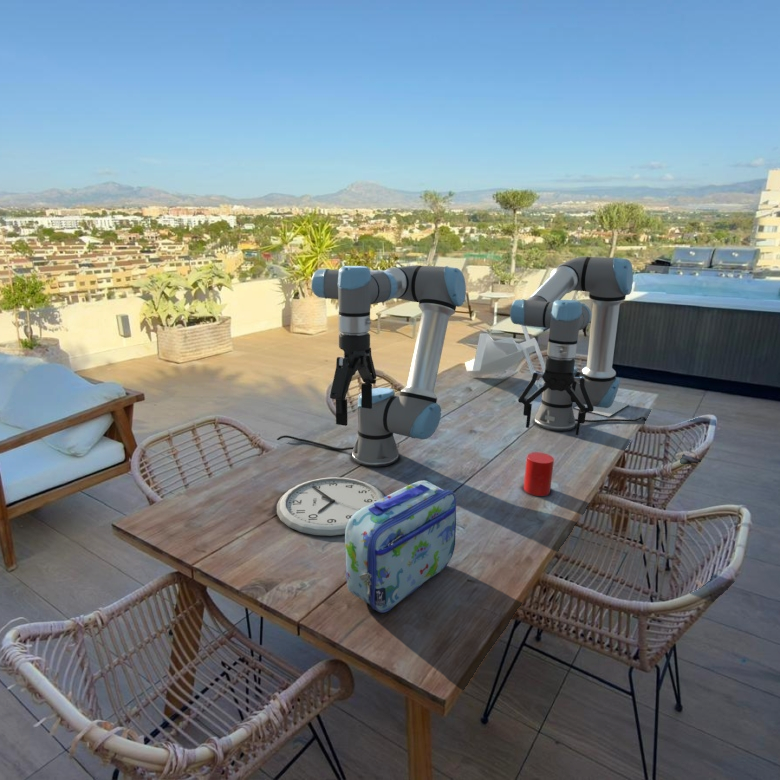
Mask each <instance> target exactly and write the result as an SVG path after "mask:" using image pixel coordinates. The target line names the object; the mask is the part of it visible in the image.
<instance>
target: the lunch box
mask: <svg viewBox="0 0 780 780" xmlns="http://www.w3.org/2000/svg"><path fill="white" fill-rule="evenodd" d="M456 531H457V499H456V495H455V493H454V492H453V490H450V489H442V488H440V487H439V486H437V485H435V484H433V483H432V482H430V481H428V480H418V481H416V482H413V483H410V484H409V485H406V486H405V487H402V488H400V489H398V490H396V491H394V492H392V493H390V494H388V495H385V497H384V498H382V499H380V500H378V501H376V502H374V503H372V504H370V505H368V506H366V507H364V508H362V509H360V510H358V511H357V512H355V513H354V514H353V515H352V517H351V518H350V520H349V522H348V524H347V527H346V531H345V534H344V552H345V577H346V578H345V580H346V586H347V589H348V592H349V593H350V594H352V595H354V596H356V597H357V598H359V599H361V600H363V602H365V603H367V604H368V605H370V607H371V608H372V609H373V610H375V611H376V612H378V613H380V614H382V613H383V614H385V613H387V612H389V611H391V609H393V608H394V607H395V606H396V605H397V604H400V602H401V601H402V600H404V599H406V597H409V596H410V595H411V594H412V593H414V592H415V591H416V590H417V589H418V588H420V587H421V586H422V585H423V584H424V583H425V582H427V581H428V580H430V579H432V578H433V577H434V576H436V575H437V574H439V573H441V572H442V571H443V570H445V568H446V567H447V566H448V564H449V563H450V561H451V560H452V557H453V554H454V551H455V548H456V547H455V546H456Z"/></svg>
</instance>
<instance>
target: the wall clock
mask: <svg viewBox="0 0 780 780" xmlns="http://www.w3.org/2000/svg"><path fill="white" fill-rule="evenodd" d="M384 497H386V495H385V494H384V493H383V492H382V491H381V490H380V489H379V488H377V487H376V486H374V485H372V484H371V483H369V482H365V481H362V480H359V479H355V478H349V477H338V476H337V477H335V476H333V477H332V476H331V477H322V478H317V479H312V480H307V481H305V482H302V483H299V484H297V485H295V486H293V487H292V488H290V489H288V490H287V491H286V492H285V493H284V494H283V495H281V496H280V498H279V499H278V502H277V503H276V515H277V517H278V518H279V520H280V521H281V522H282V523H283V524H285V525H286V526H287V527H288V528H290V529H293V530H295V531H297V532H299V533H303V534H308V535H312V536H327V537H328V536H329V537H331V536H332V537H333V536H342V535H345V531H346V527H347V524H348V522H349V520H350V518H351V517H352V515H353V514H354V513H355V512H357V511H358V510H360V509H362V508H364V507H366V506H368V505H370V504H372V503H374V502H376V501H378V500H380V499H382V498H384Z"/></svg>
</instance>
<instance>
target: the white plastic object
mask: <svg viewBox="0 0 780 780" xmlns="http://www.w3.org/2000/svg"><path fill="white" fill-rule="evenodd" d="M520 326H521V329H522V332H523V336H524V338H525V341H522V342H519V343H518V342H516V340H515V339H514V337H513V336H510V337H505V338H501V339H497V340H494V339H493V338H492V337H491V335H490V334H489V333H487V332H486V333H485V332H483V333H482V332H480V333H479V336H478V341H477V346H476V351H475V355H474V358H473V359H471V360H468V361H465V362H464V365H465V370H466V372H467V374H468V375H469V377H471V378H472V377H481V376H490V375H496V376H500V375H502V374H505V373H506V372H507V370H508V369H509V368H511V367H512V366H513V365H515V364H517V363H518V362H520V361H521V360H522V359H523V358H524V357H525V360H526V363H527V367H528V370H529V372H530V376H531V377H532V376H533V373H534V371H535V368H534V365H533V361H532V359H531V356H530V354H533V353H535V352H536V355H537V359H538V362H539V364H540V367H541V370H542V373H543V374H544V372H545V367H546V362H545V360H544V358H543V355H542V351H541V348H540V345H539V343H538V341H537V339H536V338H535V337H532V338H531V337H530V334H529V332H528V328H527V326H522V325H520ZM534 386H535V387H536V388H537V390H538V389H539V388H540V383H539V380H536V382H535V384H534Z"/></svg>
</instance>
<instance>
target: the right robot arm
mask: <svg viewBox="0 0 780 780" xmlns="http://www.w3.org/2000/svg"><path fill="white" fill-rule="evenodd" d="M633 284H634V270H633V264H632V262H631V261H630V260H629V259H627V258H621V257H608V256H607V257H606V256H605V257H602V256H578V257H575V258H571V259H569V260H566V261H564V262H562V263H561V264H559V265H557V266H556V267H555V268H554V269H553V270H551V272H550V274H549V277H548V279H546V281H545V282H544V283H543V284H542V285H540V286H539V288H538V289H537V290H535V292H534V293H532V295H530V297H528V298H527V299H524V298H521V299H515V300H513V302H512V303H511V306H510V311H509V313H510V315H509V316H510V317H509V318H510V322H511V323H513V325H520V326H521V325H522V326H526V327H534V328H542V329H543V328H544V329H549V334H548V340H547V341H548V342H547V348H546V349H547V350H546V355H547V357H546V358H545V366H546V367H545V372H544V373H543V372H539V371H537V370H534V373H533V376H531V379H530V381H529V382H528V384H527V385H526V387H525V388H524V390H523V391H522V393H521V395H520V396H519V398H518V400H517V401H518V403H521V404H523V413H522V414H523V416H524V417H526V423H525V428H526V429H529V428H530V425H531V418H532V417H531V416H532V407H533V403H532V402H533V401H535V400H536V399H537V398H538V397H540V395H541V402H540V405H539V407H538V410H537V411H536V413H535V416H534V424H535V425H536V426H537V427H539V428H542V429H544V430H549V431H556V432H567V431H572V430H574V429H575V428H576V429H575V435H576V436H579V435H580V426H581V424H585V423H602V422H638V421H640V420H644V421H648V419H647V418H646V417H645V416H639V417H637V418H634V419H632V418H631V419H628V418H627V419H624V418H623V419H622V418H606V419H586V415H587V413H592V411H593V409H594V407H593V406H595V407H602V408H609V407H610V406H611V405H612V404H613V401H614V402H615V399H616V396H617V394H618V391H619V387H620V384H621V378H619V377H616V376H617V372H616V370H615V369H614V368H613V363H614V355H615V354H614V352H615V346H616V338H617V330H618V321H619V316H620V315H619V314H620V305H621V303H623V302H624V301H625V300H626V298H627V297H626V296H629V295H630V294H632V290H633ZM578 291H579V292H585V293H586V292H588V293H589V295H588V299H589V300H590V301H591V302H592V310H591V309H590V308H589V306H587V305H586V304H584V303H582V302H581V301H579V300H576V299H575V300H573V299H563V298H564V297H565V296H566V294H571V292H578ZM589 324H590V330H589V338H588V339H589V340H588V349H587V359H586V366H584V367H583V368H582V369H581V371H578V367H577V366H575V364H576V360H575V358H576V357H577V349H578V348H577V347H578V339H579V334H580V333H579V332H580V331H582V330H584V329H585V328H587V326H588V325H589ZM522 326H521V327H522ZM540 379H542V380H543V381H542V382H543V383H542V385H541V386H539V389H538V388H537V390H535V391H534V392H533V393H531V394H530V395H529V396H528V398H526V397H527V395H528V394H529V393H530V391H531V390H532V388H533V387H534V386H535V382H536V380H538V381H539V380H540ZM574 403H575V406H578V407H579V409H578V414H577V418H575V417H576V416H575V413H574V407H573V405H574ZM584 404H585V405H587V406H586V407H585V405H584Z"/></svg>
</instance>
